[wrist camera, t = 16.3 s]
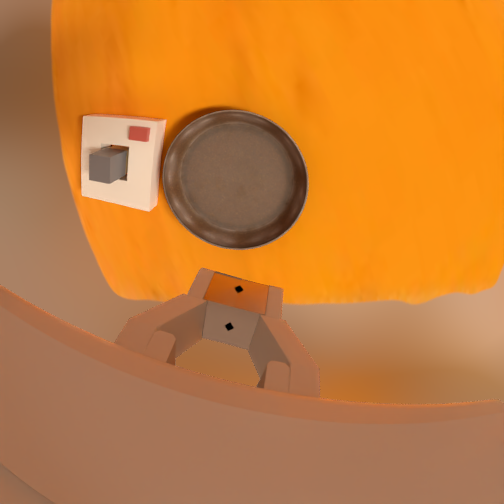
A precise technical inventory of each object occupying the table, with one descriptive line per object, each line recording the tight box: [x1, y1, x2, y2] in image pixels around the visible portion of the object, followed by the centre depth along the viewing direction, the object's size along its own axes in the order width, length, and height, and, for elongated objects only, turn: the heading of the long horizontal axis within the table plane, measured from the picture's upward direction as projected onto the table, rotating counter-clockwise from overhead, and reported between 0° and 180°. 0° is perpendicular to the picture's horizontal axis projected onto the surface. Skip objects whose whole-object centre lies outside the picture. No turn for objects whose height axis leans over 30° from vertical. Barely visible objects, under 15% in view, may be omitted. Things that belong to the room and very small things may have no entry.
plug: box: [89, 145, 129, 184], centre depth 37 cm, size 4×4×7 cm
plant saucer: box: [163, 110, 309, 250], centre depth 39 cm, size 21×21×3 cm
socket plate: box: [81, 114, 166, 211], centre depth 38 cm, size 14×14×4 cm
